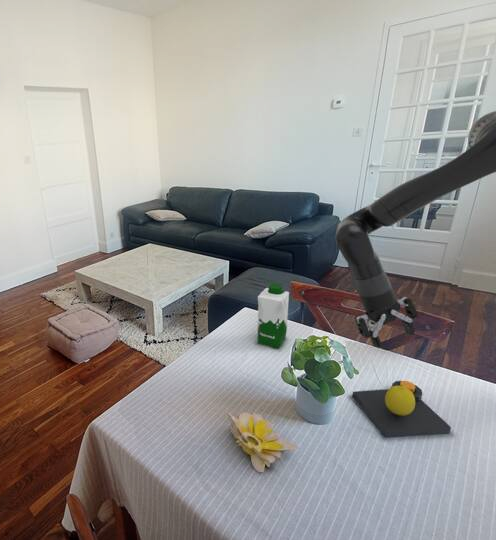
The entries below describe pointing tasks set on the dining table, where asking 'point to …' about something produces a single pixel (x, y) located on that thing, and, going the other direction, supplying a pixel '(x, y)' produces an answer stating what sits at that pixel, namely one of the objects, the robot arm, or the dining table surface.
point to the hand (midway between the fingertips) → (395, 340)
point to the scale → (397, 425)
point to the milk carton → (272, 316)
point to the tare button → (408, 385)
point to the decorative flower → (258, 439)
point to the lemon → (400, 400)
